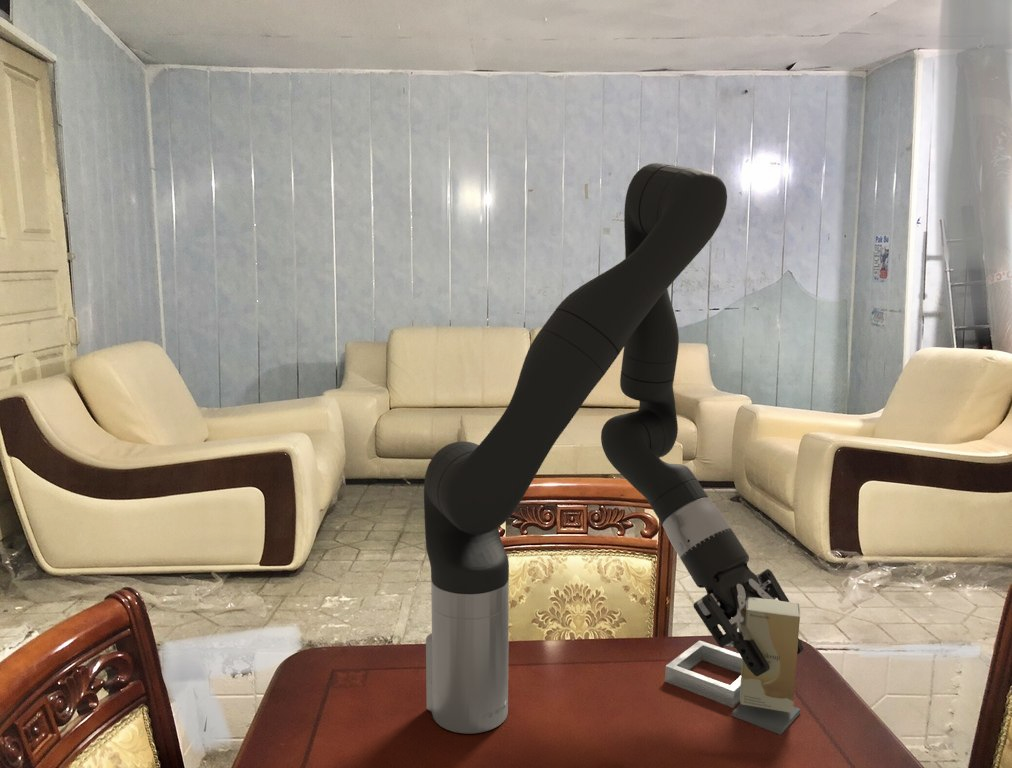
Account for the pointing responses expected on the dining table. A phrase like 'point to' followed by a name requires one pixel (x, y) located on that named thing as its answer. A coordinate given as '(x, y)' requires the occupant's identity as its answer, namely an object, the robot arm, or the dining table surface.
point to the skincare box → (772, 653)
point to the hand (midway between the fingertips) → (780, 663)
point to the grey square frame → (703, 685)
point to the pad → (766, 717)
